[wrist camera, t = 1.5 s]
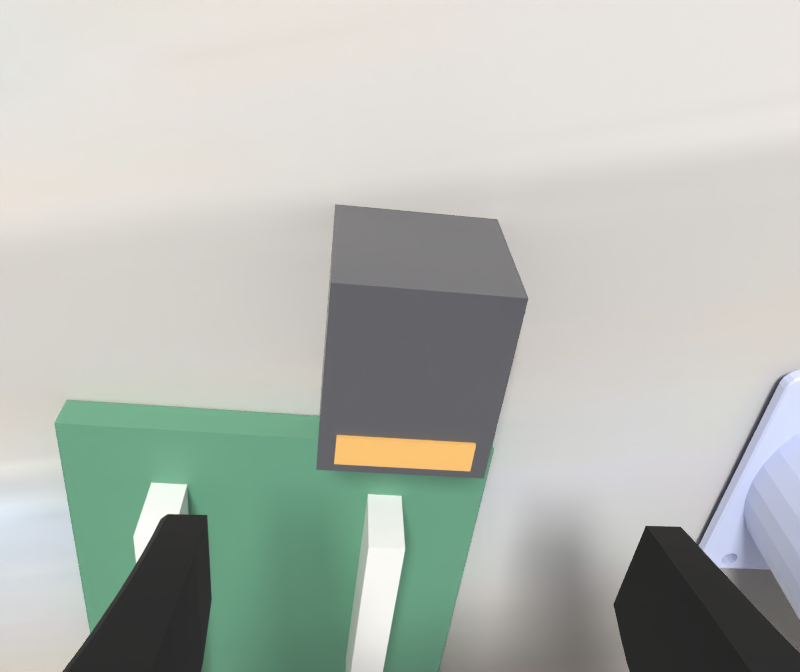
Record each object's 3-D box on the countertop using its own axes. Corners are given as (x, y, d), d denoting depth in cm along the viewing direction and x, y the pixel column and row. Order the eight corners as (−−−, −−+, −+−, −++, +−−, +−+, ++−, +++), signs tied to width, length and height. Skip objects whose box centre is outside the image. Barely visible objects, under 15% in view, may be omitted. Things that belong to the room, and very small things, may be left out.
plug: (496, 217, 18) (529, 300, 15) (463, 379, 21) (484, 481, 17) (335, 202, 18) (330, 284, 14) (322, 370, 20) (315, 472, 17)
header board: (488, 426, 22) (516, 545, 18) (423, 697, 29) (433, 822, 25) (67, 400, 20) (1, 522, 17) (112, 690, 28) (73, 820, 24)
